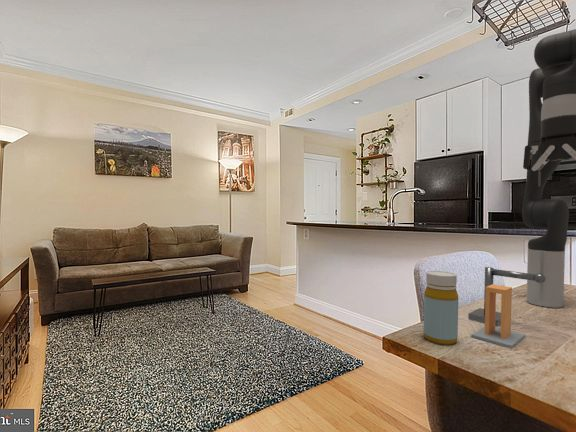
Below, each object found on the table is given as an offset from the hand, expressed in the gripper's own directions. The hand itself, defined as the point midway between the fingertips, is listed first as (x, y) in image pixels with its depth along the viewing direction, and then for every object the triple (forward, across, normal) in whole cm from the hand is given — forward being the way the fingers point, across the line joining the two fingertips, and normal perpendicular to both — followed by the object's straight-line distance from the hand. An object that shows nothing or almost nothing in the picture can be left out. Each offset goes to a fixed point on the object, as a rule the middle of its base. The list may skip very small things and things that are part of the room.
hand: (559, 185), depth 78 cm
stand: (+36, -10, -3) cm, 37 cm away
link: (+35, -8, -15) cm, 39 cm away
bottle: (+35, -16, -27) cm, 47 cm away
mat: (+35, -8, -15) cm, 39 cm away
